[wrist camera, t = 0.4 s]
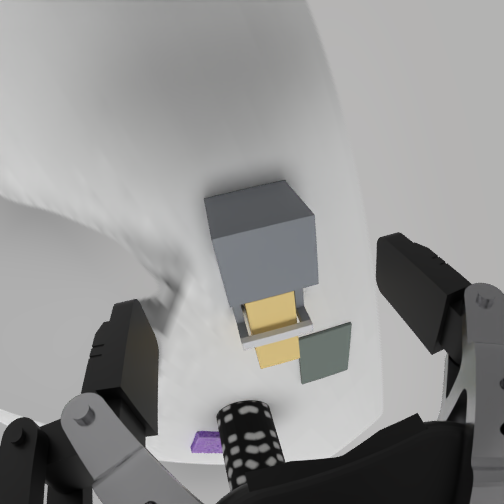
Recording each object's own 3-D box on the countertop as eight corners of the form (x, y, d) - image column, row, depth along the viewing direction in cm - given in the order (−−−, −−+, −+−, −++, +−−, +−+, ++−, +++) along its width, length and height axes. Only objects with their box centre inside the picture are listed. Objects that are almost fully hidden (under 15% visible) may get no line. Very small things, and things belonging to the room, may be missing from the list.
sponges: (253, 445, 54) (256, 453, 53) (189, 445, 50) (190, 453, 48) (267, 428, 51) (269, 437, 50) (196, 428, 47) (198, 437, 45)
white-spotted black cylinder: (248, 394, 43) (282, 524, 26) (279, 410, 47) (315, 522, 31) (205, 417, 44) (226, 538, 28) (239, 431, 49) (265, 537, 32)
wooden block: (237, 277, 32) (245, 303, 29) (281, 266, 32) (293, 291, 29) (253, 343, 38) (260, 368, 34) (290, 333, 38) (300, 357, 35)
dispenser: (204, 198, 27) (211, 239, 21) (284, 180, 27) (314, 215, 22) (234, 315, 34) (247, 365, 28) (297, 298, 35) (320, 345, 29)
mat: (297, 338, 38) (298, 340, 38) (350, 322, 39) (351, 324, 39) (301, 382, 44) (302, 384, 43) (346, 367, 44) (347, 369, 44)
